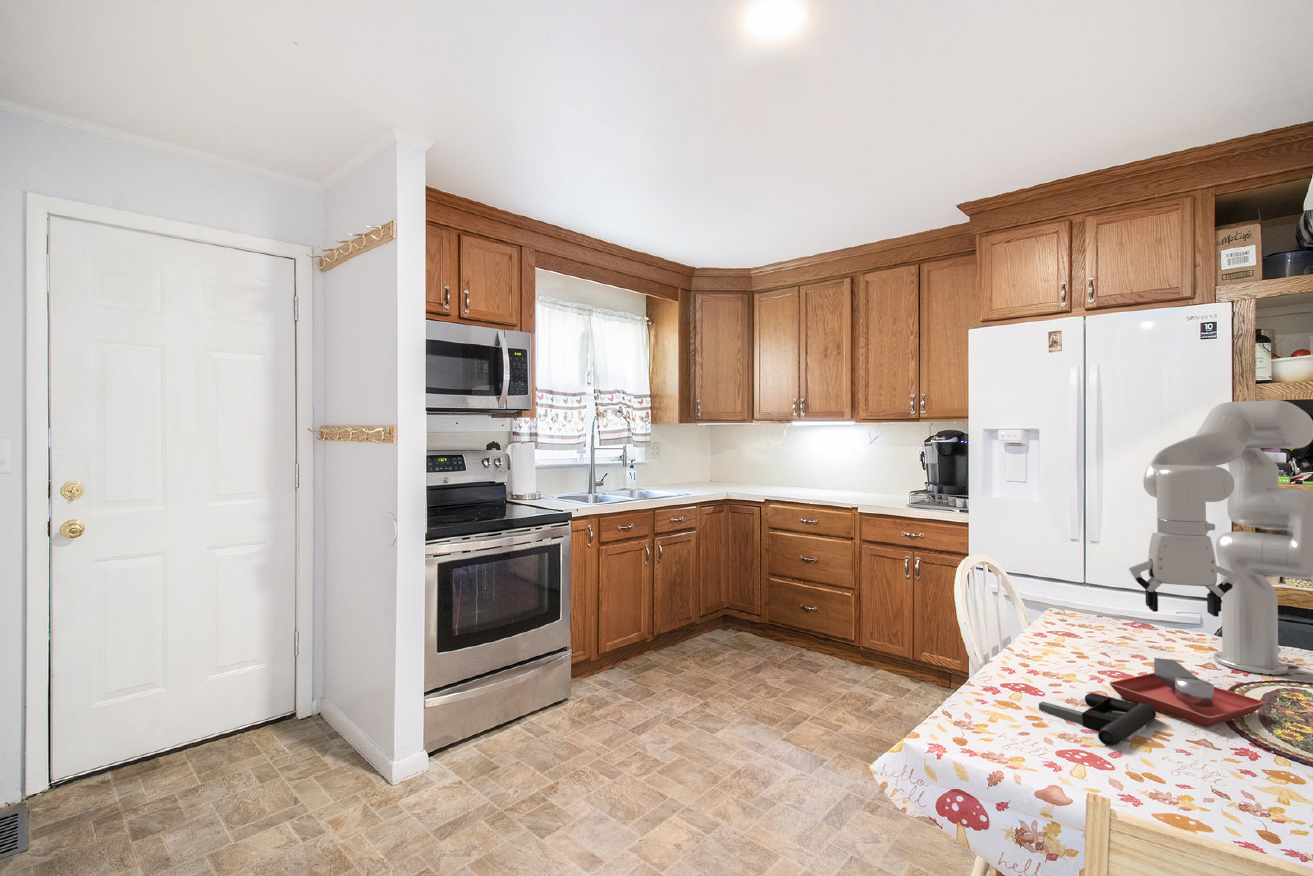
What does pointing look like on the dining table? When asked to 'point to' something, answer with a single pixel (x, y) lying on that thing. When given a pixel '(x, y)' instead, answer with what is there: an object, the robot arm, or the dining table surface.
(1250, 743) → the dining table surface
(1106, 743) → the door handle
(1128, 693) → the plant saucer
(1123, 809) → the dining table surface
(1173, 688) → the ball joint lever
